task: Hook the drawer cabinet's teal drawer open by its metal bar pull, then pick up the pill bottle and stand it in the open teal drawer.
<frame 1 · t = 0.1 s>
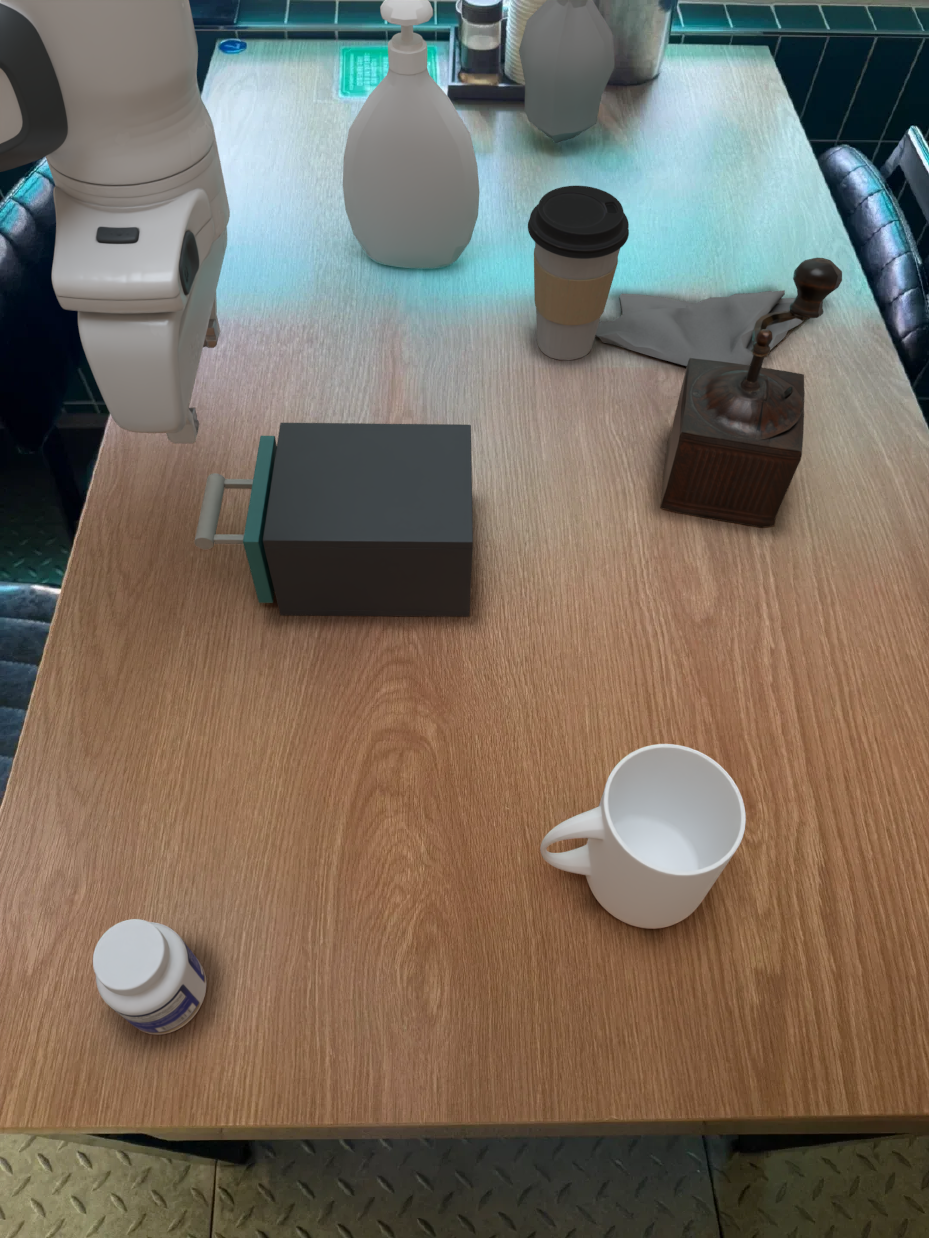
hand: (196, 386, 64), 20 cm above the table, tool pointing down, fingers open, 8 cm apart
coffee cup: (563, 344, 99), on the table
bottle: (557, 144, 122), on the table
manual coffee grinder: (722, 462, 89), on the table
drawer cabinet: (378, 556, 82), on the table
soap bottle: (413, 256, 107), on the table
mug: (618, 872, 66), on the table
teal drawer: (320, 519, 78), point 5 cm above the table, slide at 0.5 cm
cloth: (711, 333, 101), on the table
pill bottle: (166, 993, 61), on the table
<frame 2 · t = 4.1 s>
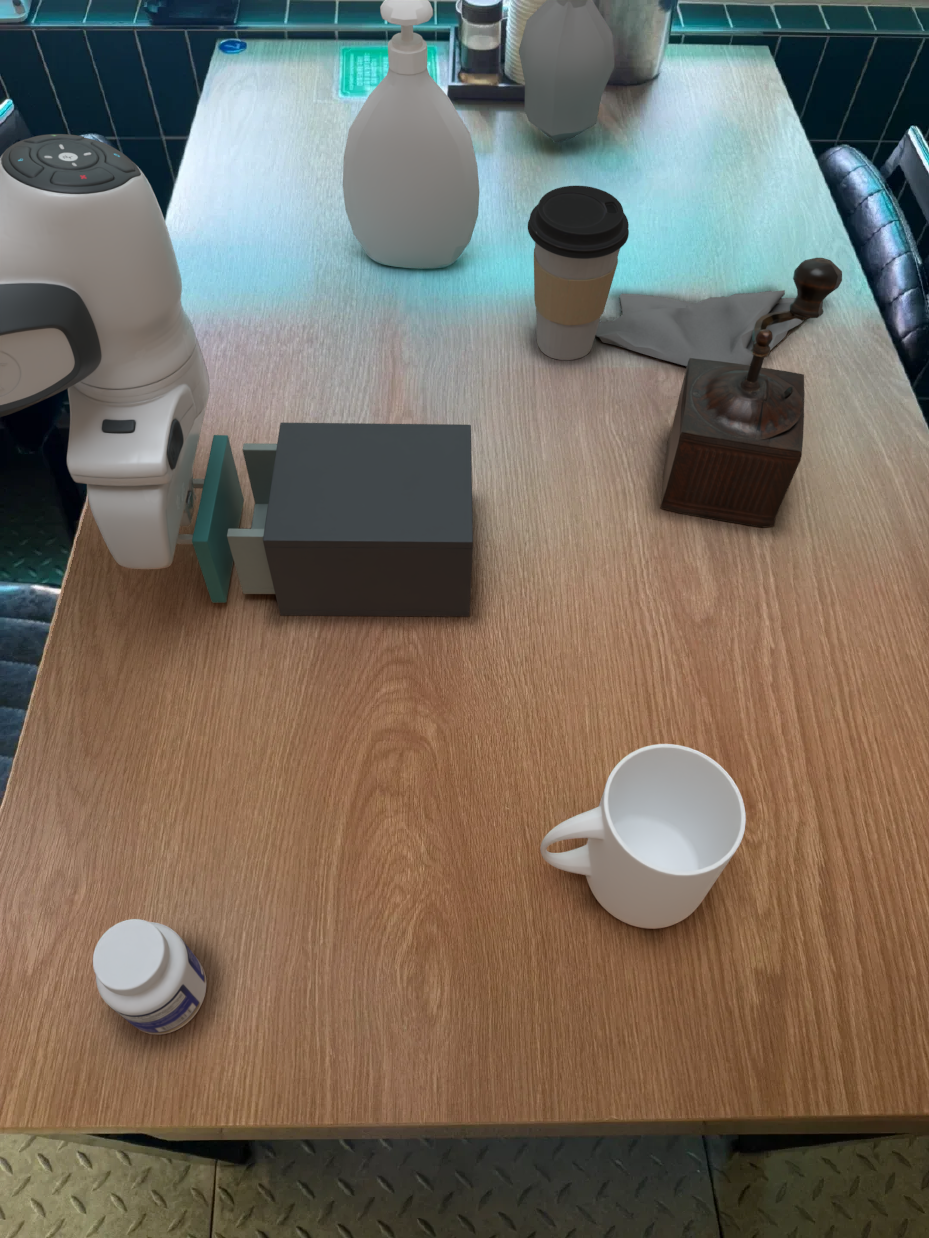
hand: (183, 513, 77), 5 cm above the table, tool pointing down, fingers closed, pressing on teal drawer
teal drawer: (273, 519, 78), point 5 cm above the table, slide at 4.3 cm, touching gripper
everything else where it was.
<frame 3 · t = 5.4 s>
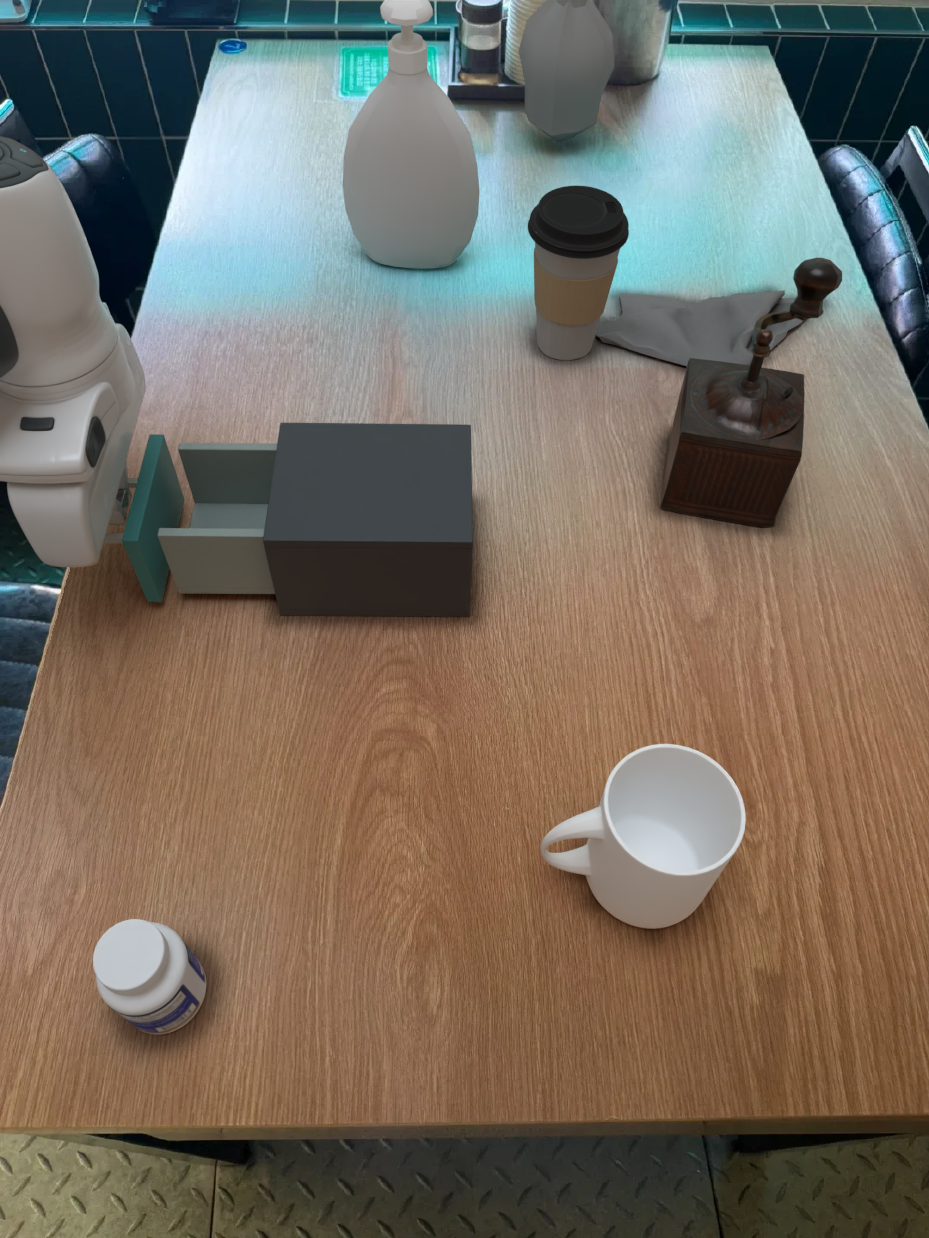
hand: (118, 511, 77), 6 cm above the table, tool pointing down, fingers closed
teal drawer: (209, 518, 77), point 5 cm above the table, slide at 9.5 cm
everything else where it was.
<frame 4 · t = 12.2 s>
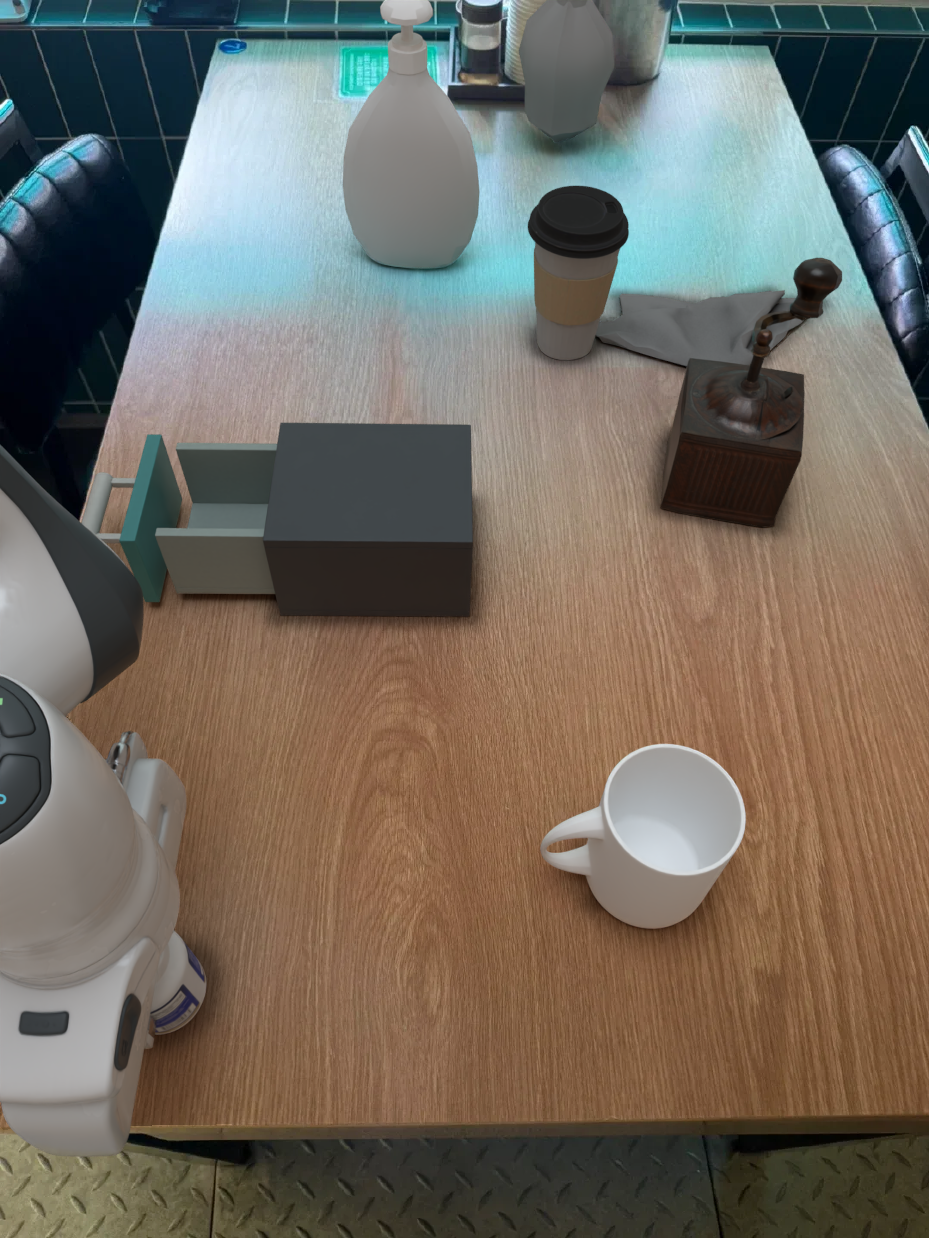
hand: (151, 977, 58), 4 cm above the table, tool pointing down, fingers closed on pill bottle, 5 cm apart
pill bottle: (166, 993, 61), on the table, touching gripper
everything else where it was.
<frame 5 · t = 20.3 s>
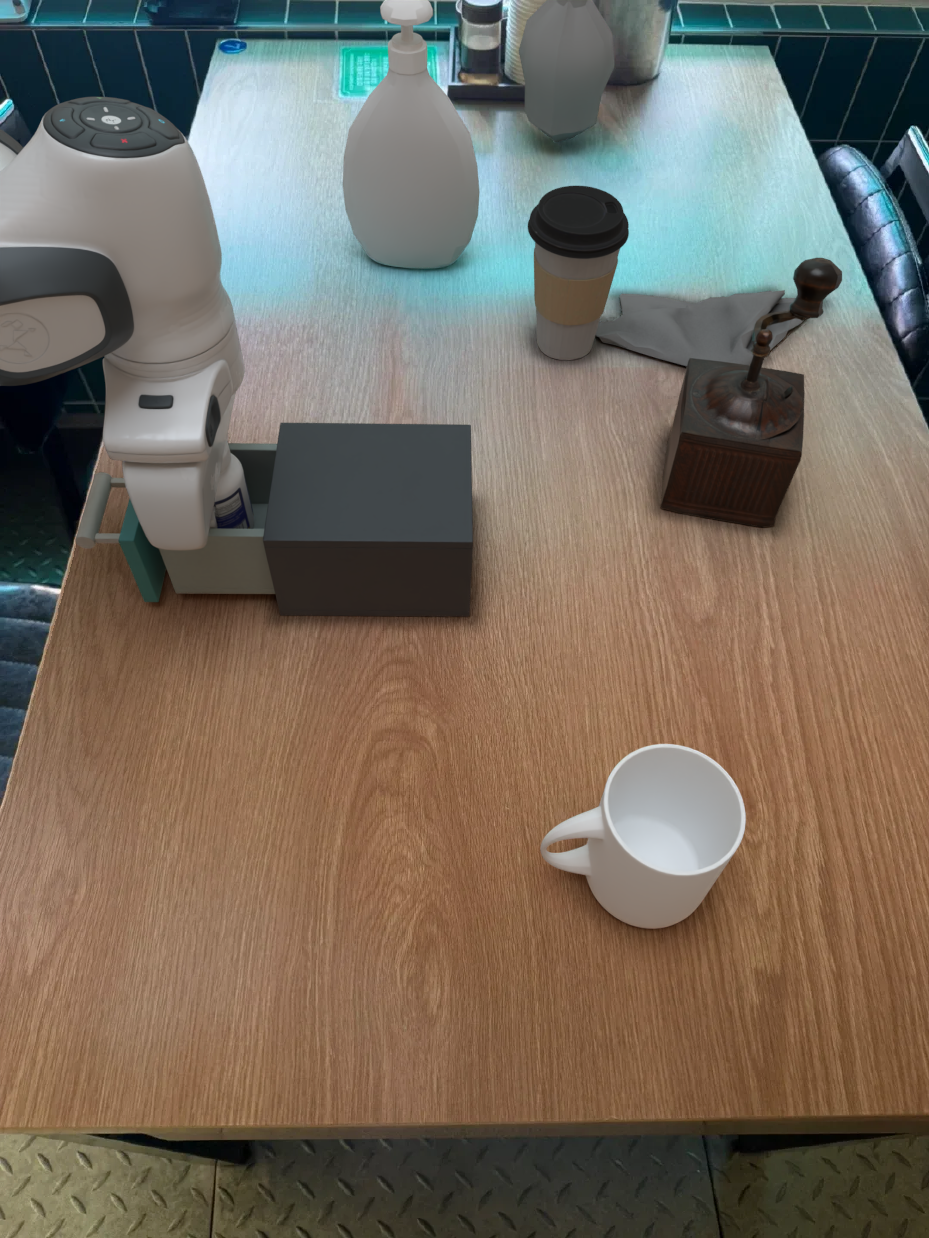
hand: (213, 496, 75), 8 cm above the table, tool pointing down, fingers closed on pill bottle, 5 cm apart
pill bottle: (223, 527, 78), point 4 cm above the table, touching gripper
everything else where it was.
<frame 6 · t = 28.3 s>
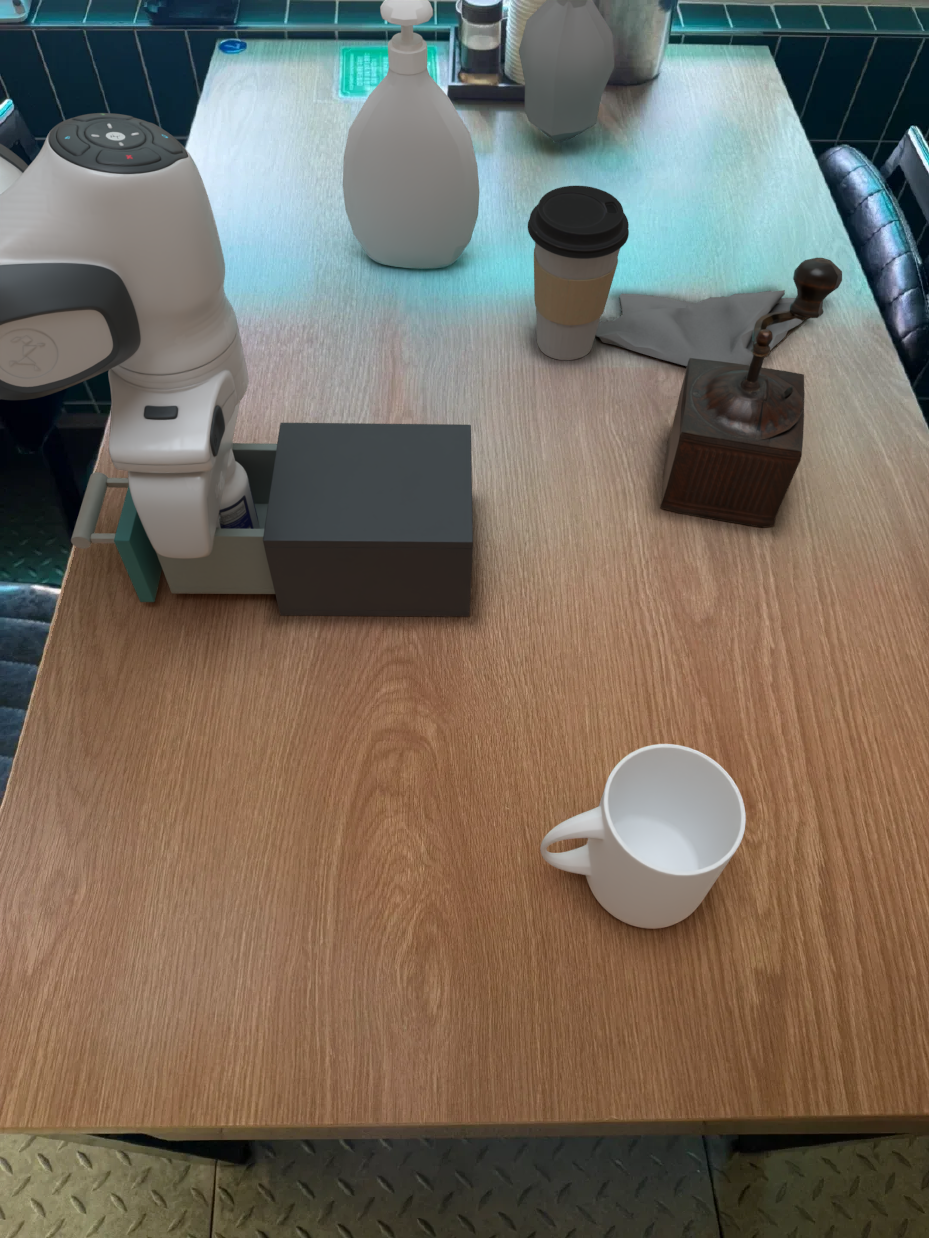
hand: (218, 503, 76), 7 cm above the table, tool pointing down, fingers closed on pill bottle, 5 cm apart
teal drawer: (202, 518, 77), point 5 cm above the table, slide at 10.1 cm, touching gripper
pill bottle: (228, 534, 79), point 3 cm above the table, touching gripper
everything else where it was.
when the fingers open (8 cm above the table, at t = 29.5 s): pill bottle stays where it is, resting on teal drawer.
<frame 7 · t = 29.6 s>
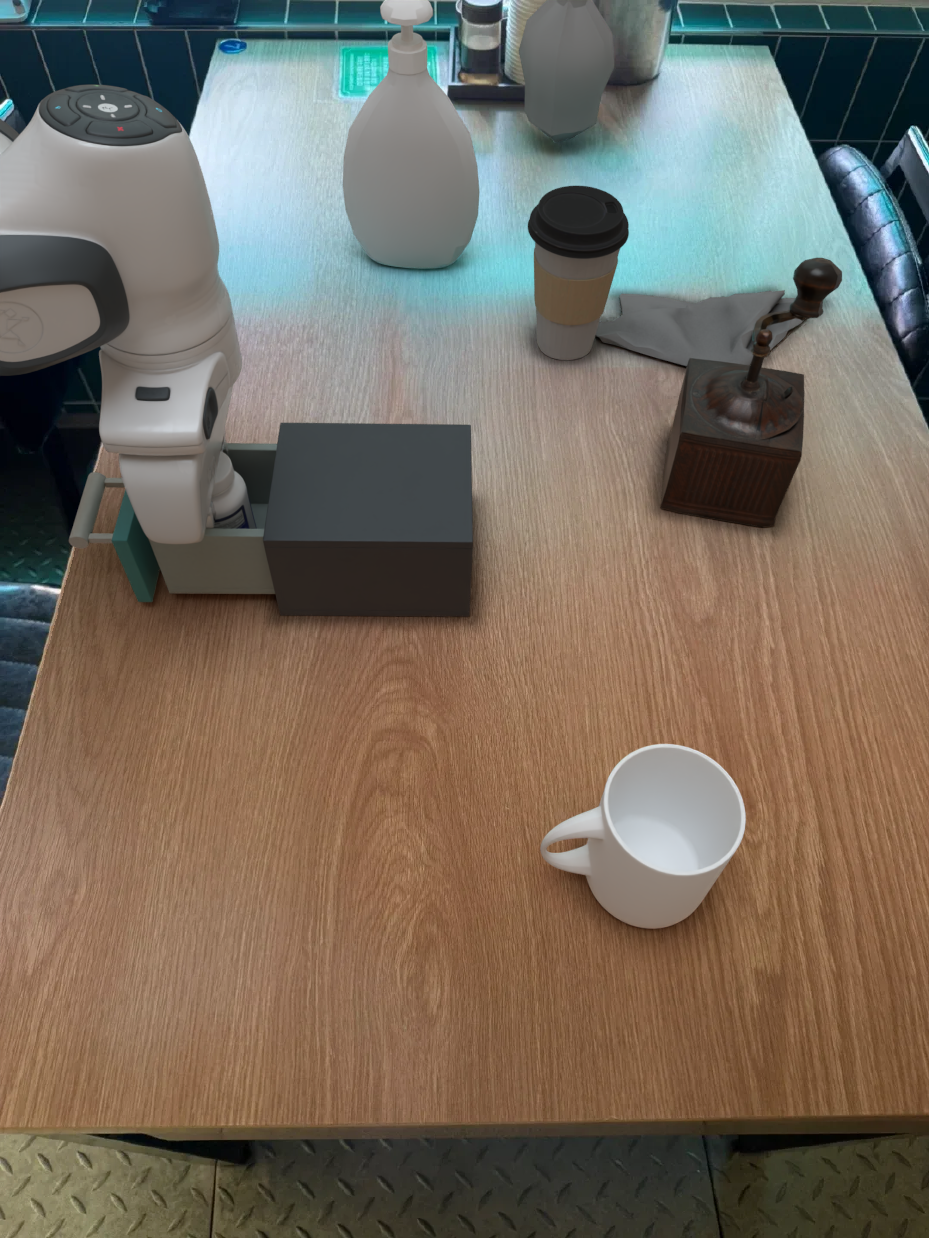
hand: (210, 490, 75), 8 cm above the table, tool pointing down, fingers open, 5 cm apart
teal drawer: (200, 518, 77), point 5 cm above the table, slide at 10.3 cm, touching pill bottle
pill bottle: (227, 542, 80), point 2 cm above the table, touching teal drawer
everything else where it was.
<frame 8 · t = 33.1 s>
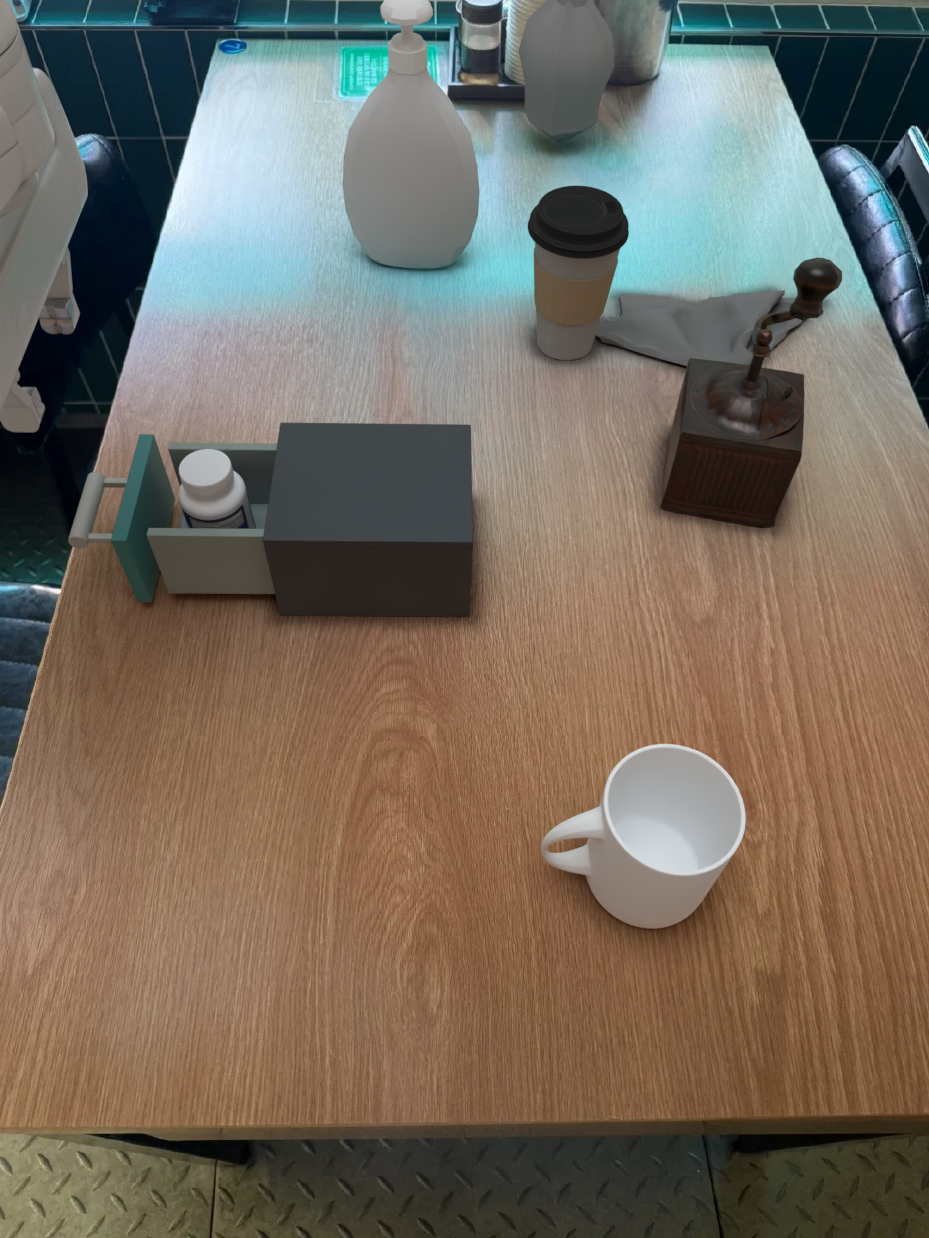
hand: (46, 372, 51), 29 cm above the table, tool pointing down, fingers open, 6 cm apart
nothing on the table moved.
at the end: teal drawer slide at 10.4 cm; pill bottle inside the target area in the teal drawer (0.7 cm from its centre), point 1.8 cm above the drawer cabinet's base; pill bottle tilted 0° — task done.
